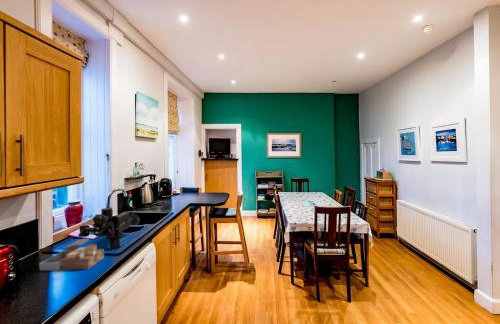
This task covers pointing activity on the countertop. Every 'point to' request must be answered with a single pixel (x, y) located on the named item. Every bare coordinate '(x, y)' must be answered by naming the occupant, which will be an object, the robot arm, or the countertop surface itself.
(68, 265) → the brown square tray
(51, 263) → the box
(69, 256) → the tile terracotta
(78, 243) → the cleaver
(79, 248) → the tile cream
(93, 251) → the scraper
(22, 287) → the countertop surface
